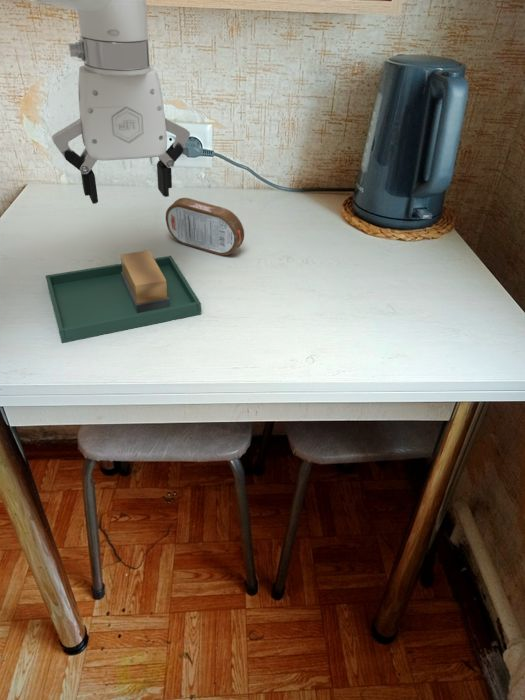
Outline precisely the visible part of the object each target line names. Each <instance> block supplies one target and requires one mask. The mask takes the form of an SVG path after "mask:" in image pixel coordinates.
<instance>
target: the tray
mask: <svg viewBox="0 0 525 700" xmlns="http://www.w3.org/2000/svg"><path fill="white" fill-rule="evenodd" d="M153 258H154V260H155V261H156V263H157V265H158V267H159V268H160V270H161V272H162V274H163V275H164V277H165V279H166V284H167V296H168V298H169V304H170V307H166V308H161V309H156V310H151V311H146V312H141V313H137V312H136V310H135V307H134V305H133V303H132V301H131V298H130V296H129V294H128V292H127V290H126V287H125V285H124V283H123V281H122V276H121V272H122V265H121V263H115V264H109V265H103V266H96V267H90V268H85V269H78V270H72V271H65V272H60V273H59V272H58V273H52V274H47V275H45V281H46V284H47V289H48V292H49V297H50V301H51V304H52V308H53V312H54V317H55V321H56V325H57V329H58V333H59V337H60V340H61V343H62V344H64V343H69V342H73V341H78V340H83V339H87V338H94V337H98V336H103V335H107V334H112V333H117V332H122V331H127V330H132V329H137V328H141V327H146V326H147V327H148V326H151V325H156V324H161V323H165V322H170V321H176V320H180V319H184V318H185V319H186V318H190V317H195V316H199V315H202V303H201V301H200V299H199V297H198V296H197V295H196V292H195V291H194V290H193V288H192V286H191V285H190V284H189V282H188V280H187V279H186V277H185V275H184V274H183V272H182V271H181V269H180V267H179V266H178V264H177V262H176V261H175V259H174V258H173V256H172V255H167V256H160V257H159V256H158V257H153Z"/></svg>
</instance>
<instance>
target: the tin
mask: <svg viewBox="0 0 525 700" xmlns="http://www.w3.org/2000/svg"><path fill="white" fill-rule="evenodd" d="M165 223H166V227H167V230H168V232H169V234H170V235H171V236H172V237H173V238H174V240H176V241H177V242H178V243H181V244H182V245H185V246H188V247H191V248H195V249H198V250H202V251H204V252H208V253H211V254H215V255H218V256H228V255H231V254H233V253H234V252H235V251H237V249H239V248H240V247H241V246H242V245H243V243H244V239H245V229H244V226H243V224H242V222H241V220H240V219H239V217H238V216H237V215H236V214H235V213H234V212H233V211H231V210H229V209H228V208H227V207H226V208H225V207H221V206H219V205H215V204H211V203H208V202H204V201H201V200H196V199H193V198H189V197H180V198H178V199H176V200H175V201H174V202H173V203H171V205H170V206H169V207H168V208H167V210H166V212H165Z"/></svg>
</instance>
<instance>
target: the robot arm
mask: <svg viewBox="0 0 525 700" xmlns="http://www.w3.org/2000/svg"><path fill="white" fill-rule="evenodd" d="M28 1H29V2H33V3H37V4H42V5H47V6H56V7H60V8H63V9H68V10H71V11H72V10H73V11H75V12H76V11H77V18H78V27H79V33H80V35H79V39H78V40H77V41H75V42H74V43H72V42H70V43H68V51H69V52H68V53H69V55H70V57H71V58H77V59H80V60H81V61H82V62H83V65H81V66H79V69H78V84H77V85H78V110H79V111H78V112H79V118H78V119H77V120H74V121H73V122H71V123H70V124H69V125H67V126H65V127H64V128H62V129H60V130H58V131H57V132H55V133H53V134H52V136H51V139H52V141H53V144H54V145H55V147H56V149H58V151H59V152H60V154H61V155H62V156H63V158H64V159H65V160H66V161H67V162H68V163H69V164H70V165H72V166H73V167H74V168H75V169H77V170H78V171H80V177H81V183H82V189H83V194H84V197H86V196H89V198H90V199H89V200H90V201H91V203H92V204H93V205H96V204H97V203H99V198H98V189H97V182H96V175H95V173H94V170H93V168H94V166H95V165H96V163H97V162H98V161H122V160H123V161H124V160H138V159H149V158H158V161H157V163H156V175H157V189H158V191H159V192H160V193H161V195H162V196H163V197H164V198H168V197H169V196H170V189H172V188H173V182H172V181H173V180H172V179H173V178H172V168H173V167H174V166H175V162H176V161H177V160H178V159H179V158H180V157H181V156H182V155H183V153H184V149H185V147H186V145H187V143H188V141H189V139H190V136H191V132H190V131H189V130H188V129H187V128H186V127H183V126H182V125H179V124H177V123H176V122H174V121H172V120H170V119H168V118H167V117H166V116H165V108H164V101H163V93H162V88H161V83H160V78H159V74H158V70H157V69H155V68H153V67H151V66H150V64H151V63H150V62H151V61H150V46H149V29H148V11H147V9H148V8H147V0H28ZM167 132H168V133H170V134H173V135H174V136H175V138H174V141H173V143H172V144H171V145H169V147H168V137H167V136H168V135H167ZM79 136H81V139H82V143H83V145H84V147H85V148H84V149H83V150H82V152H81V153H80V155H79V154H78V153H76V151H74V150H73V149H72V148H71V147H70V145H69V143H70V142H71V141H72V140H74V139H76V138H77V137H79Z"/></svg>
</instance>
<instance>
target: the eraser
mask: <svg viewBox="0 0 525 700" xmlns="http://www.w3.org/2000/svg"><path fill="white" fill-rule="evenodd" d="M119 256H120V257H119V258H120V264H121V265H122V272H121V276H122V281H123V283H124V285H125V287H126V290H127V292H128V294H129V296H130V298H131V301H132V303H133V305H134V307H135V310H136V312H137V313H141V312H146V311H151V310H156V309H161V308H166V307H170V304H169V298H168V296H167V284H166V279H165V277H164V275H163V274H162V272H161V270H160V268H159V267H158V265H157V263H156V261H155V260H154V258H155V257H154V256H153V254H152V253H151V251H150V249H147V250H139V251H134V252H127V253H120V255H119Z"/></svg>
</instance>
